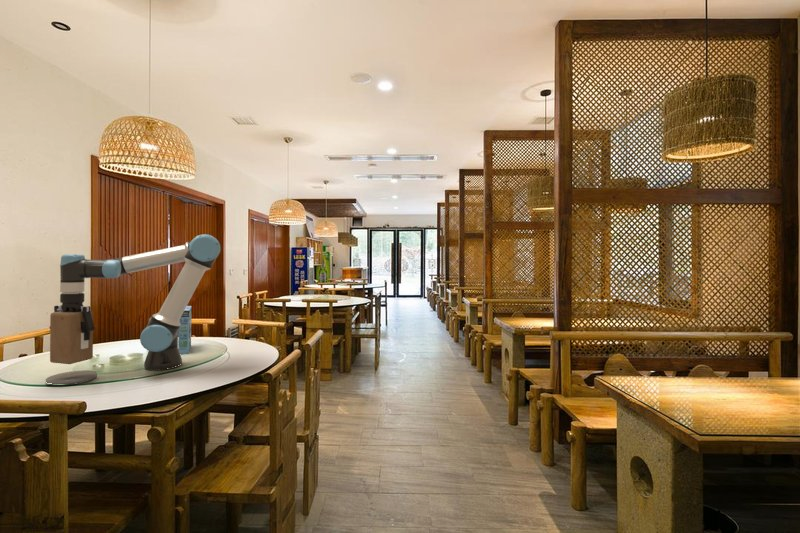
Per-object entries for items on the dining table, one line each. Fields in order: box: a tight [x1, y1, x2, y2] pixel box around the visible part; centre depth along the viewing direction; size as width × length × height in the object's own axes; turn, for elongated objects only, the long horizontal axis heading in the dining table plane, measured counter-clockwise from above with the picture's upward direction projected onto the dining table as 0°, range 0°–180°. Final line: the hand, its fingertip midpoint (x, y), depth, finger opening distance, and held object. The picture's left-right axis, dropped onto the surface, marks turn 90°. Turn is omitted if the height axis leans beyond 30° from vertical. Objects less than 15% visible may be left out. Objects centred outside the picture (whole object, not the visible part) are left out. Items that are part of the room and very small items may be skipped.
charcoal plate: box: [45, 369, 98, 385], centre depth 160 cm, size 16×16×2 cm
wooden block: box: [49, 310, 94, 365], centre depth 160 cm, size 10×10×20 cm
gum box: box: [178, 305, 193, 355], centre depth 215 cm, size 20×5×23 cm, turn 24°
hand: (72, 347), depth 160 cm, fingers closed on wooden block, 10 cm apart
